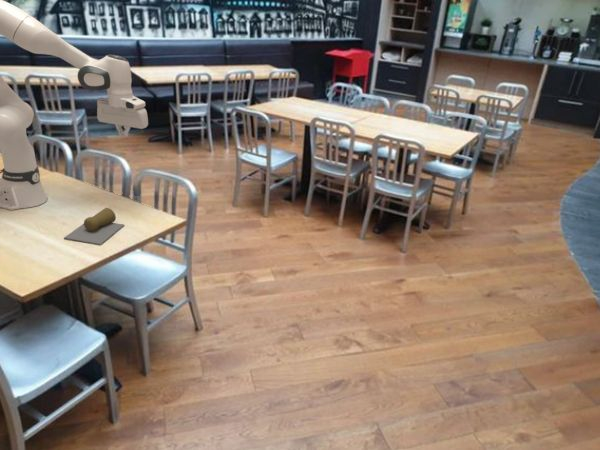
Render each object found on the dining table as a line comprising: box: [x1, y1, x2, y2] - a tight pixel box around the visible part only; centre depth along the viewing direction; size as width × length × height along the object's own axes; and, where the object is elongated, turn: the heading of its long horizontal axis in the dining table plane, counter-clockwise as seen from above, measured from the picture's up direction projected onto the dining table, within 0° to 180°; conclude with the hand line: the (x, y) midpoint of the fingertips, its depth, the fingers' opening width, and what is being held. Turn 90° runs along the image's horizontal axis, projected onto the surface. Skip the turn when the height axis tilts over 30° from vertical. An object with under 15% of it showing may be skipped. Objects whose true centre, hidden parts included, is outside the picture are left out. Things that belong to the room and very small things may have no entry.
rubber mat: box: [63, 222, 125, 246], centre depth 168 cm, size 14×16×1 cm
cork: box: [83, 207, 116, 231], centre depth 170 cm, size 6×6×11 cm
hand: (123, 136), depth 179 cm, fingers closed
